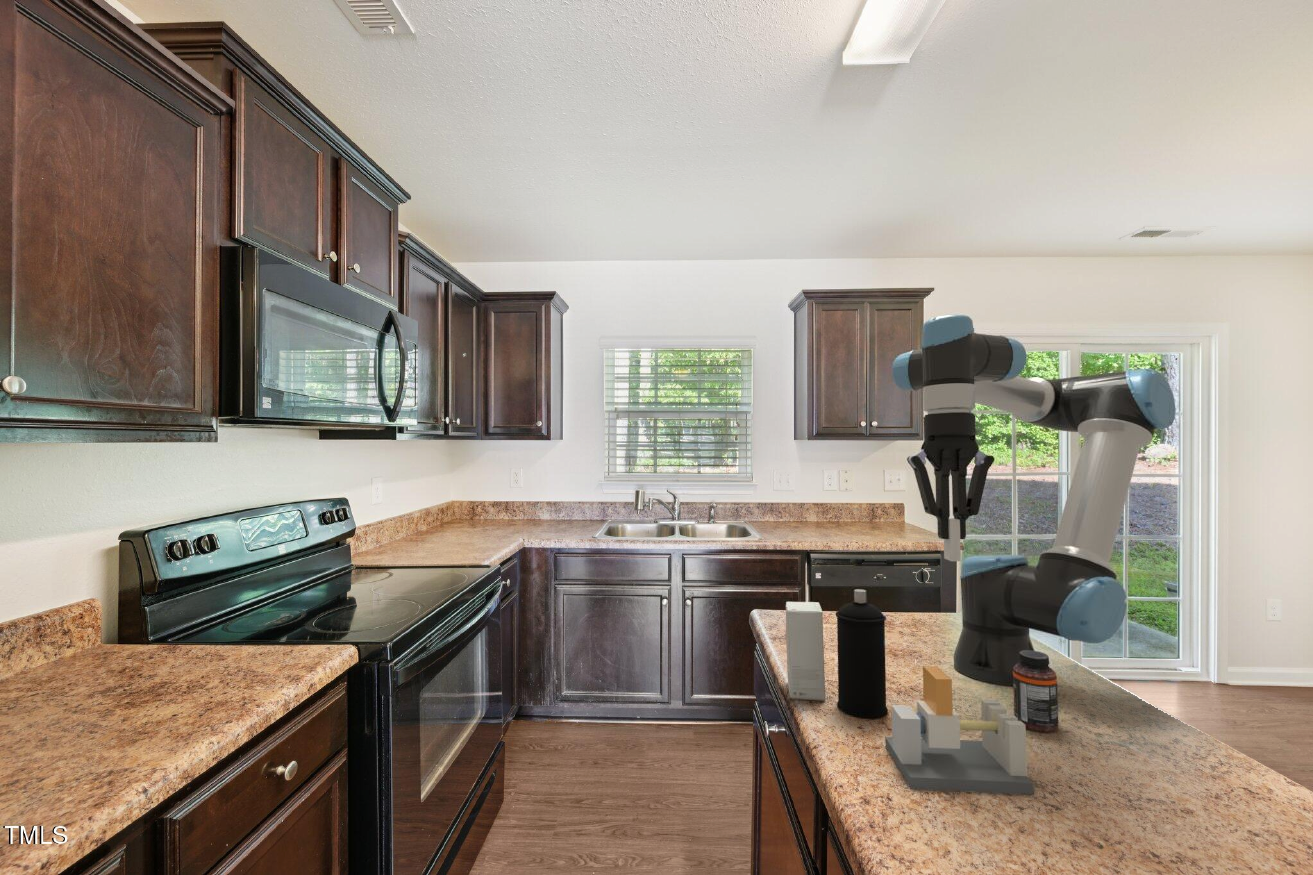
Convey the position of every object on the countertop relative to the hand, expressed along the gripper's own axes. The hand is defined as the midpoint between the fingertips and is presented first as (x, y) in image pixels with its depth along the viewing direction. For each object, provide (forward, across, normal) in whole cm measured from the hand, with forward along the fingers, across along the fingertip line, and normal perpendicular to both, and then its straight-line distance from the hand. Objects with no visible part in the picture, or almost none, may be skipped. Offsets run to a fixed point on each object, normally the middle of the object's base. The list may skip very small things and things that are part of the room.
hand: (952, 559), depth 93 cm
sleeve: (+23, +8, +13) cm, 27 cm away
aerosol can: (+27, +13, -6) cm, 30 cm away
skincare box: (+27, +22, -13) cm, 37 cm away
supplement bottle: (+27, -13, -2) cm, 30 cm away
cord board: (+26, +6, +13) cm, 30 cm away
